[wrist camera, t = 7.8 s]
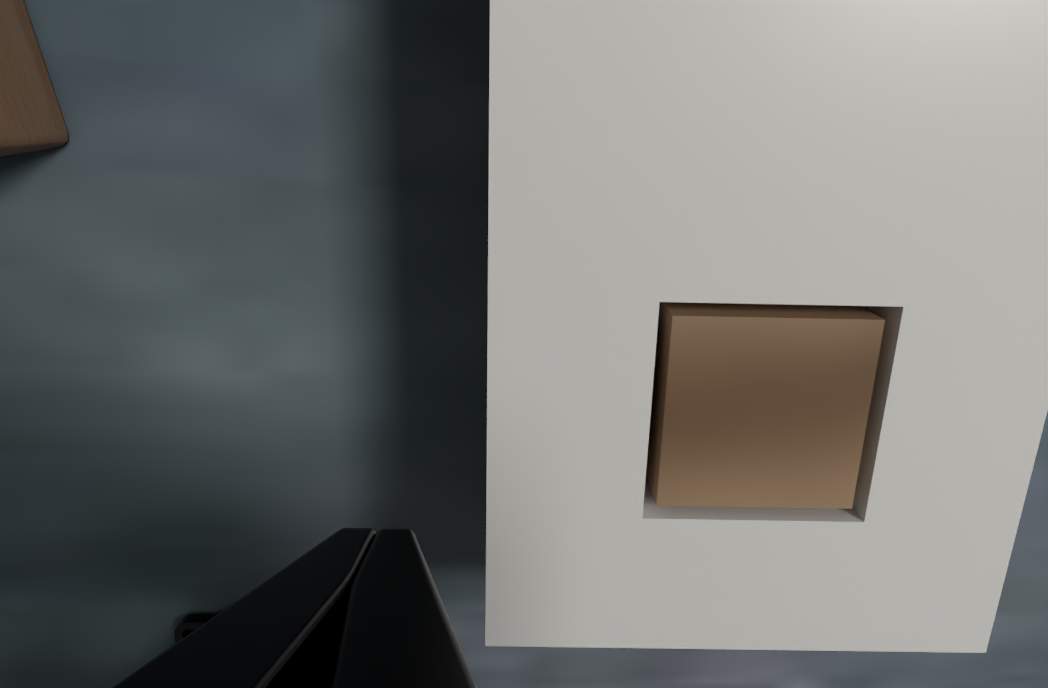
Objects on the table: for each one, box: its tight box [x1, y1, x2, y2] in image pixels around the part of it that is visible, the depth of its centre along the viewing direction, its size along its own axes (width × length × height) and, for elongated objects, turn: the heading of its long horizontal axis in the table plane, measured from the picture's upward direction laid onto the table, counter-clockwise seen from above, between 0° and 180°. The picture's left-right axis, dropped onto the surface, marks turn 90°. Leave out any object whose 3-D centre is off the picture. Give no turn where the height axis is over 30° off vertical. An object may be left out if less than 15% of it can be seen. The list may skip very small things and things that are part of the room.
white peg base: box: [485, 0, 1048, 653], centre depth 17 cm, size 24×12×6 cm, turn 179°
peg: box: [646, 302, 885, 509], centre depth 18 cm, size 4×4×5 cm
